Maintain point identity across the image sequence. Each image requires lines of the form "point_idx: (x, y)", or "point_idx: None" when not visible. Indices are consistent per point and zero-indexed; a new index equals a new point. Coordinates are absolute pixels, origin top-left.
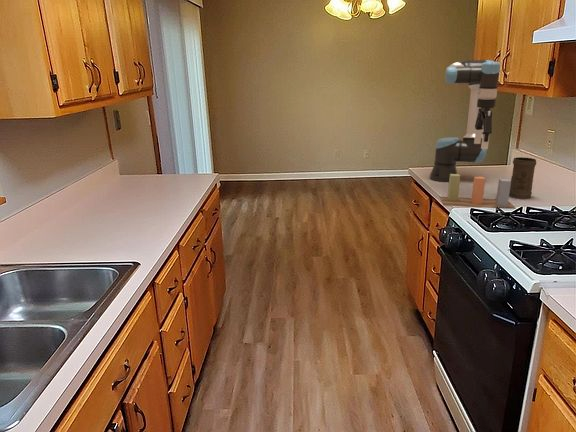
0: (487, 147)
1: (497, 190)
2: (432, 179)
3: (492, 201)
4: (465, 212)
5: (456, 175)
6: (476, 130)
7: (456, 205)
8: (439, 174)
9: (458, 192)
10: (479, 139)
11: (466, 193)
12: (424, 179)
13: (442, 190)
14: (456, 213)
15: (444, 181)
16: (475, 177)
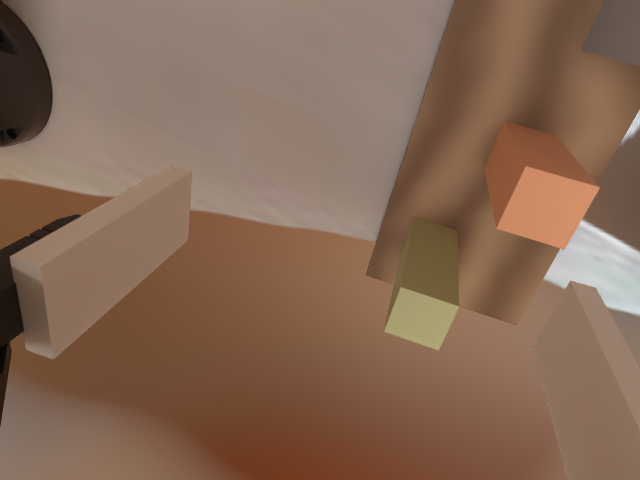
0: (598, 304)
1: (612, 58)
2: (24, 141)
3: (510, 33)
4: (615, 260)
5: (437, 320)
6: (58, 345)
7: (531, 272)
8: (12, 126)
9: (457, 252)
10: (156, 211)
11: (272, 81)
12: (24, 173)
13: (216, 181)
14: (615, 305)
15: (50, 95)
16: (529, 235)
